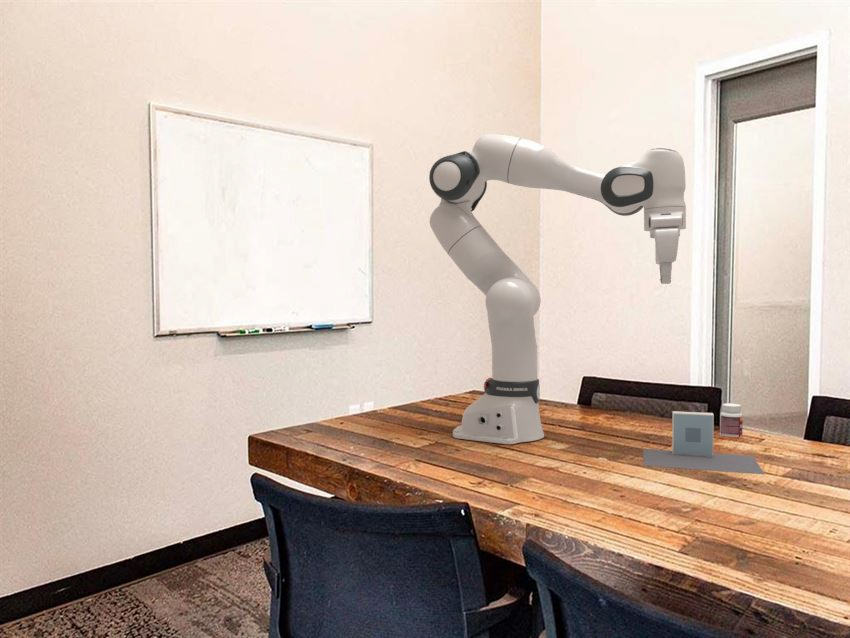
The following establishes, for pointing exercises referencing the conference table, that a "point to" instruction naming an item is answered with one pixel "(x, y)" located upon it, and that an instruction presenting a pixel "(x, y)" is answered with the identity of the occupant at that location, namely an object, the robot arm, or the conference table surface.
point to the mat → (702, 461)
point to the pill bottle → (731, 421)
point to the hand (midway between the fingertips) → (665, 283)
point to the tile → (692, 433)
